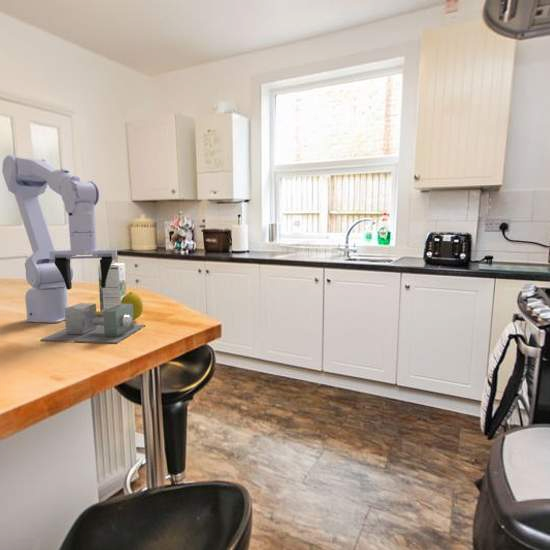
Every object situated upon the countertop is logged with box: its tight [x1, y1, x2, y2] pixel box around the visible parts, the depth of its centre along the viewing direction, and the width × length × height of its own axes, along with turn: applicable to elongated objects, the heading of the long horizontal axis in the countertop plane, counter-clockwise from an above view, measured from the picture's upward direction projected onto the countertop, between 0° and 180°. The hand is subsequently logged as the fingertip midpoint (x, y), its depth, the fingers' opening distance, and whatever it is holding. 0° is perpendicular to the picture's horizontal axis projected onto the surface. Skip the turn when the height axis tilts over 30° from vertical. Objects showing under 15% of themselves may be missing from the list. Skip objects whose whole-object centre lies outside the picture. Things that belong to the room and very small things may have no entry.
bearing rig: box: [92, 304, 135, 338], centre depth 90 cm, size 8×8×6 cm
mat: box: [40, 324, 146, 344], centre depth 91 cm, size 18×14×1 cm
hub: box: [64, 302, 97, 334], centre depth 91 cm, size 4×6×6 cm, turn 174°
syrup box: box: [97, 262, 127, 312], centre depth 109 cm, size 6×6×14 cm
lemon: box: [121, 291, 144, 321], centre depth 101 cm, size 6×6×8 cm
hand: (86, 288), depth 93 cm, fingers open, 7 cm apart
